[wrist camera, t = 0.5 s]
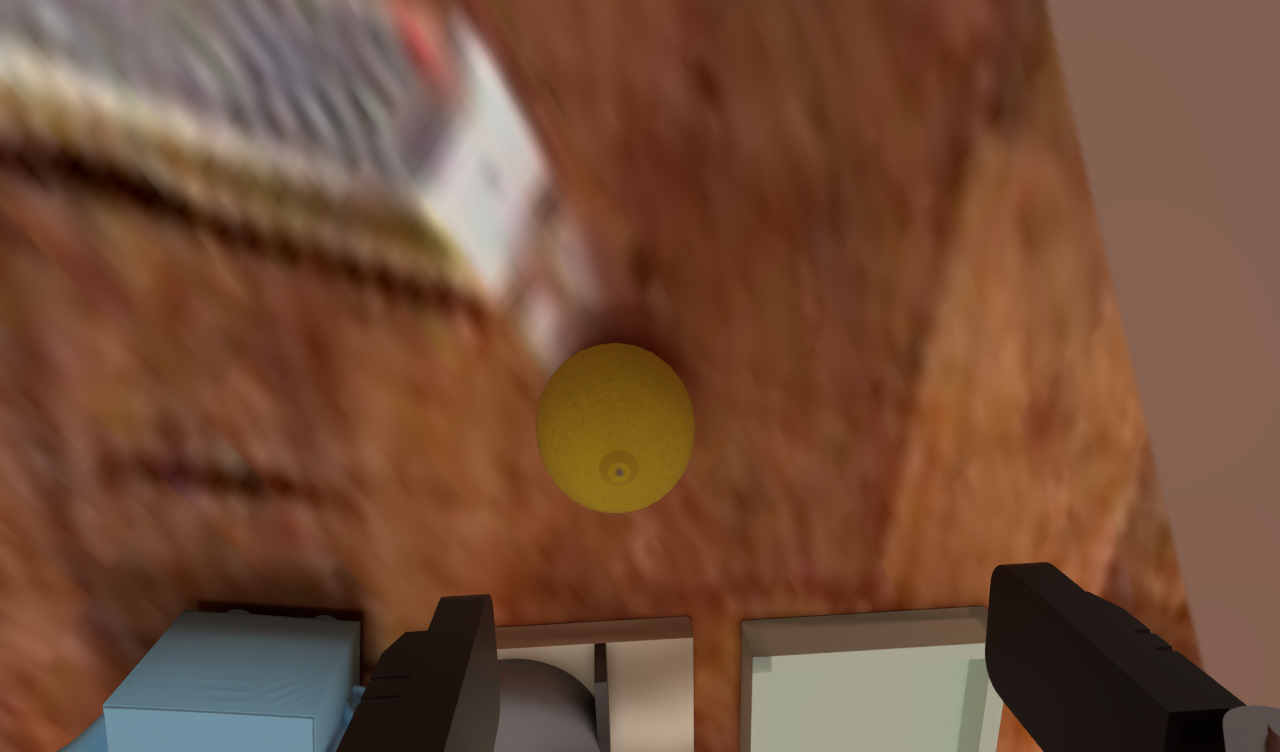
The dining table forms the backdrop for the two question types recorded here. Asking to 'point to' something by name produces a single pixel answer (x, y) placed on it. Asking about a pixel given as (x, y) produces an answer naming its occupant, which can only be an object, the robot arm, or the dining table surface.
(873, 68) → the dining table surface
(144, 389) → the dining table surface
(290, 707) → the teapot
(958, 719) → the tray
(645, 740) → the pulley board
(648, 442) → the lemon
